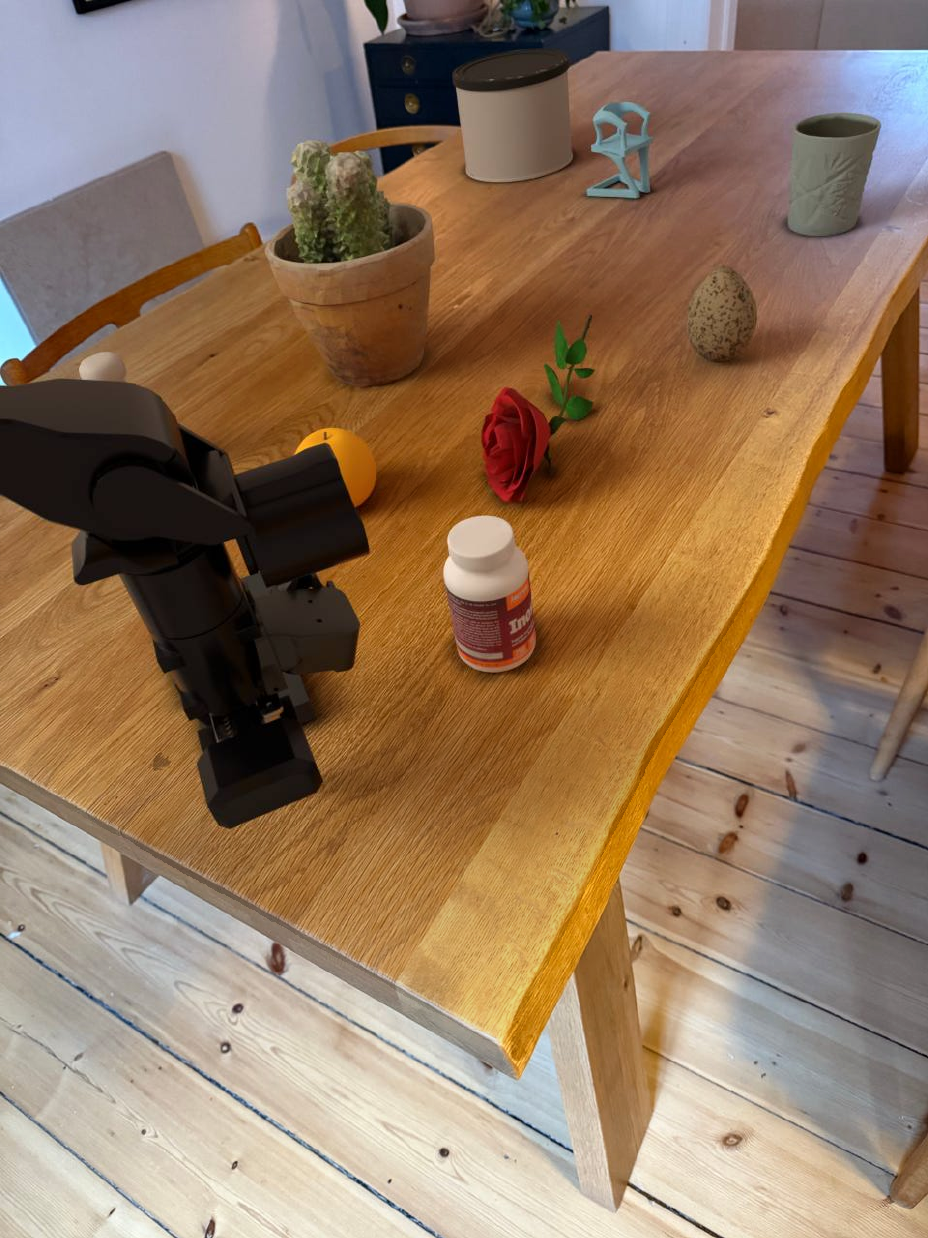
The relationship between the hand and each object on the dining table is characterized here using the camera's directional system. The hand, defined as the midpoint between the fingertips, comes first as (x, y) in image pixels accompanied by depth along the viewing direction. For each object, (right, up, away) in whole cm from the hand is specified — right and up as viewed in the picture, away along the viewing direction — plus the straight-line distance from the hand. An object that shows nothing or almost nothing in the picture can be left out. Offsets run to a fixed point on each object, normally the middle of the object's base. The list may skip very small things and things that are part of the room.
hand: (272, 771), depth 61 cm
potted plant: (+3, +41, +46) cm, 62 cm away
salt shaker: (-21, +27, +35) cm, 49 cm away
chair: (+38, +76, +76) cm, 114 cm away
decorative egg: (+41, +39, +36) cm, 67 cm away
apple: (+1, +22, +26) cm, 34 cm away
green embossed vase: (+61, +63, +57) cm, 105 cm away
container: (+23, +89, +93) cm, 130 cm away
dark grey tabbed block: (-3, +4, +8) cm, 10 cm away
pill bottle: (+16, +8, +9) cm, 20 cm away
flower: (+22, +30, +31) cm, 48 cm away
